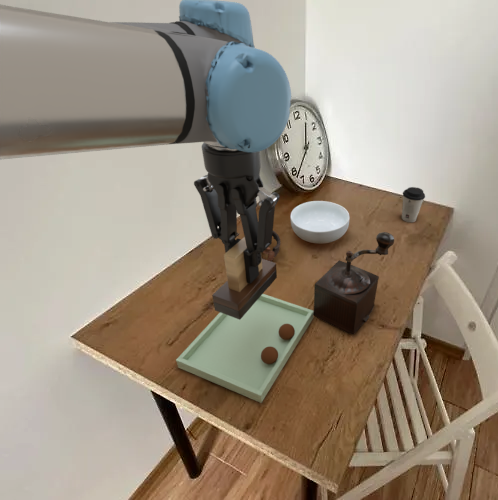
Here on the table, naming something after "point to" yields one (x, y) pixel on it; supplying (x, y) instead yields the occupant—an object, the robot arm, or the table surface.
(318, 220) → the cereal bowl
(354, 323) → the manual coffee grinder
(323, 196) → the table surface
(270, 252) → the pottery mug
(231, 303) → the chalkboard eraser
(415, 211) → the coffee cup
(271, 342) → the tray
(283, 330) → the cork ball
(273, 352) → the cork ball
